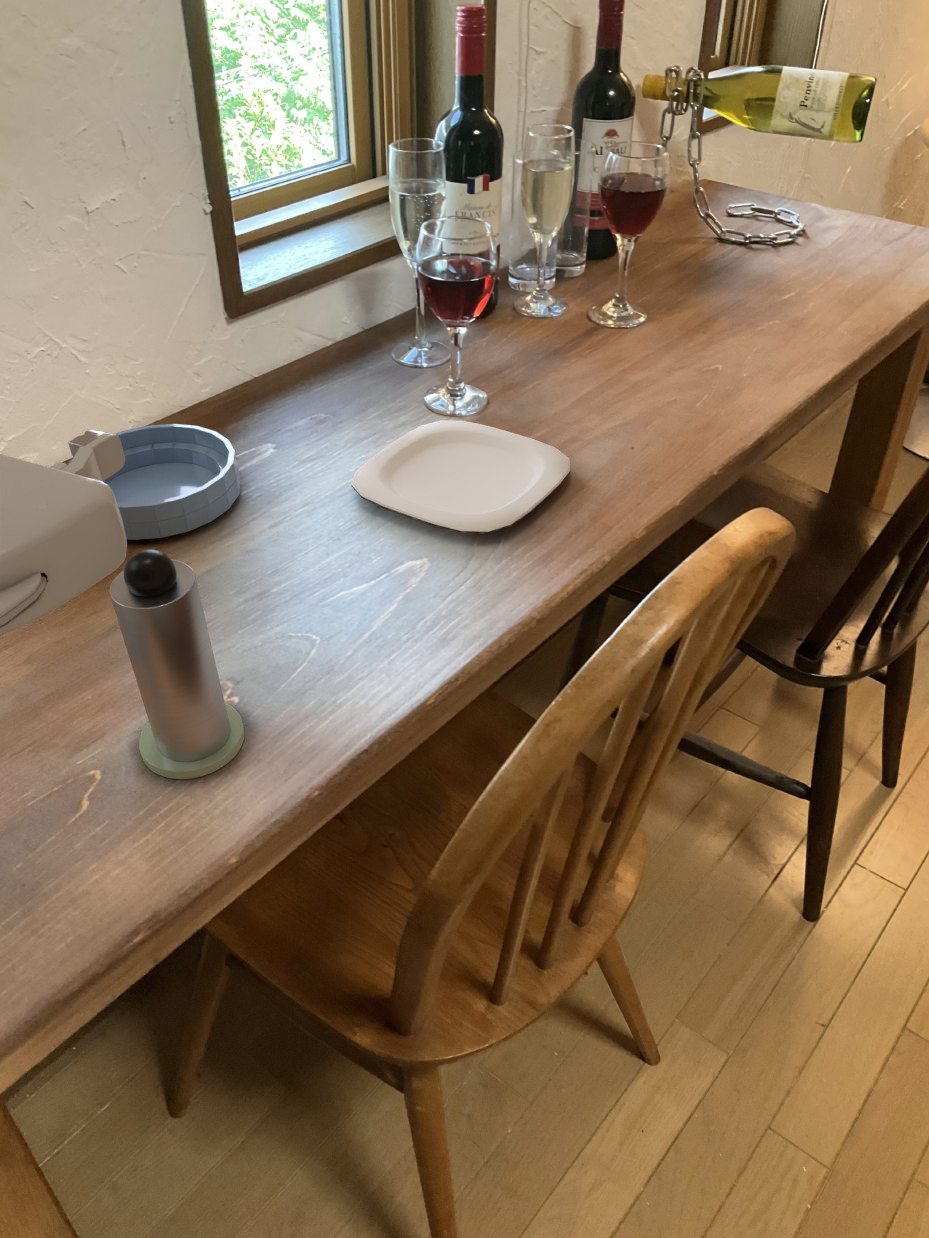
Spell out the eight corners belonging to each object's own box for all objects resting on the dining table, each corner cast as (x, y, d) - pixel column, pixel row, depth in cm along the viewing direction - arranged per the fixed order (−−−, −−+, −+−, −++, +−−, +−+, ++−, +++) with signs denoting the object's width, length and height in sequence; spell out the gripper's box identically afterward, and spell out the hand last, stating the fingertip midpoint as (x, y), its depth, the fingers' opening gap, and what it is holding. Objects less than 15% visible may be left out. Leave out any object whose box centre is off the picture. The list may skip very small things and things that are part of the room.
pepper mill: (163, 771, 63) (107, 588, 54) (149, 722, 67) (94, 542, 57) (238, 748, 65) (196, 565, 55) (221, 701, 68) (179, 522, 59)
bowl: (88, 561, 83) (76, 523, 81) (66, 480, 94) (55, 444, 91) (259, 520, 88) (253, 482, 86) (220, 447, 99) (213, 412, 96)
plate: (437, 424, 102) (437, 409, 101) (589, 469, 94) (590, 453, 93) (329, 500, 90) (328, 484, 89) (493, 559, 83) (493, 542, 82)
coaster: (151, 793, 63) (148, 784, 62) (132, 724, 68) (130, 716, 67) (256, 759, 65) (254, 751, 64) (230, 694, 70) (228, 686, 69)
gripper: (-64, 578, 32) (195, 406, 42) (-425, 455, 39) (-131, 332, 49) (-4, 714, 36) (220, 528, 46) (-341, 580, 43) (-85, 443, 53)
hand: (36, 426), depth 47 cm, fingers open, 8 cm apart
